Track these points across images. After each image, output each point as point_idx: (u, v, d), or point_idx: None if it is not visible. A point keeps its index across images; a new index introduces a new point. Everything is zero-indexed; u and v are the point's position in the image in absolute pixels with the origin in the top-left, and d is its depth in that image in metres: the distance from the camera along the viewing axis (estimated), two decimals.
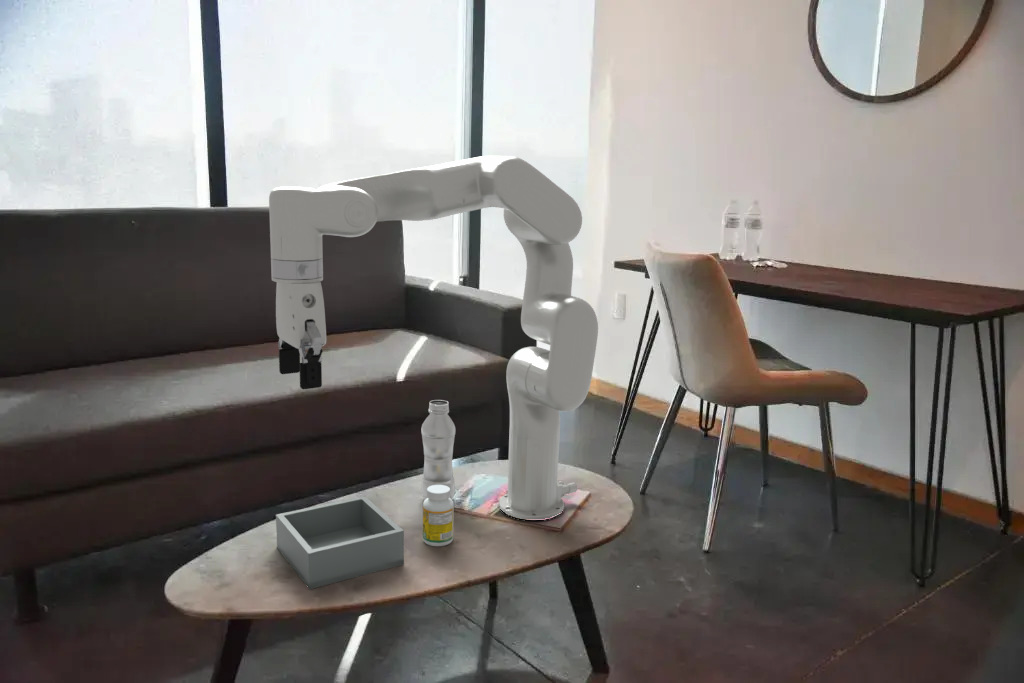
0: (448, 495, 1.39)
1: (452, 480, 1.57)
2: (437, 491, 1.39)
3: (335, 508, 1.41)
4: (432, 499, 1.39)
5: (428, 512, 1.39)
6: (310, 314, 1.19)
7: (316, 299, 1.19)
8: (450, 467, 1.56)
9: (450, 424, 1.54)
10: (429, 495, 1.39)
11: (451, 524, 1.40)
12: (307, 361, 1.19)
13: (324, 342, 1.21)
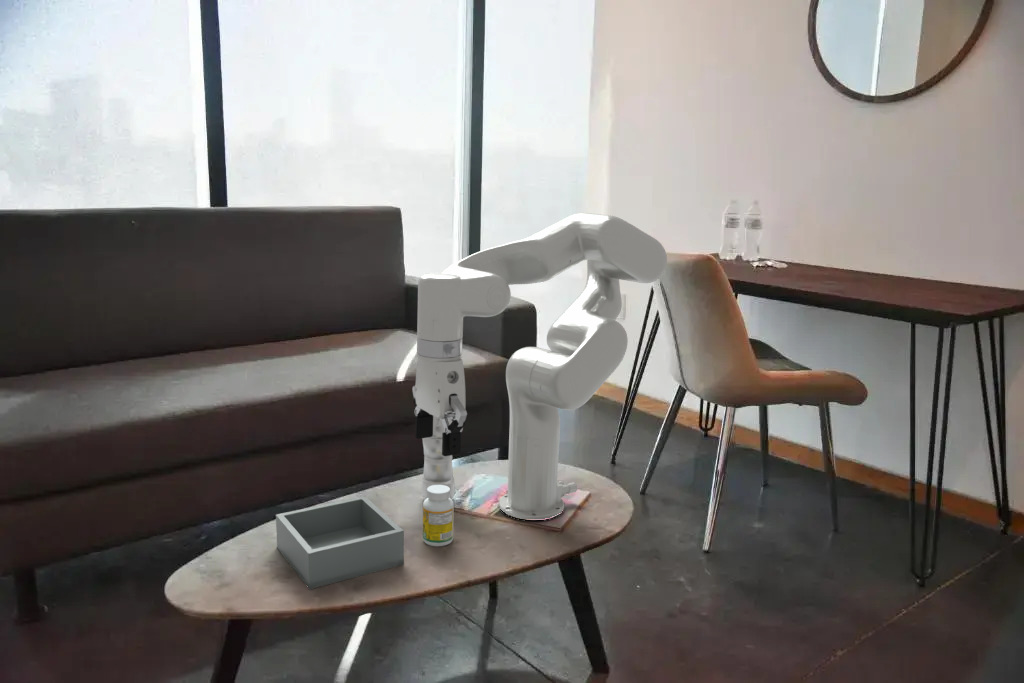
0: (448, 495, 1.39)
1: (452, 480, 1.57)
2: (437, 491, 1.39)
3: (335, 508, 1.41)
4: (432, 499, 1.39)
5: (428, 512, 1.39)
6: (454, 389, 1.32)
7: (459, 375, 1.32)
8: (450, 467, 1.56)
9: None
10: (429, 495, 1.39)
11: (451, 524, 1.40)
12: (450, 431, 1.32)
13: None
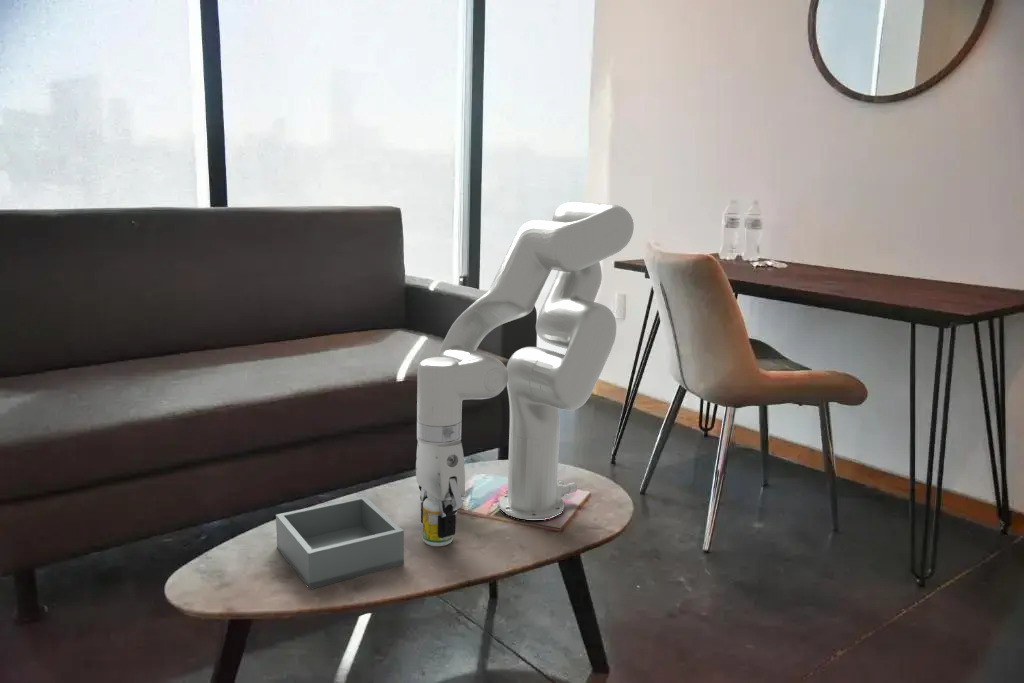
0: (448, 495, 1.39)
1: None
2: None
3: (335, 508, 1.41)
4: (432, 499, 1.39)
5: (428, 512, 1.39)
6: (453, 472, 1.35)
7: (458, 458, 1.35)
8: None
9: None
10: (429, 495, 1.39)
11: None
12: (445, 515, 1.37)
13: (463, 494, 1.37)
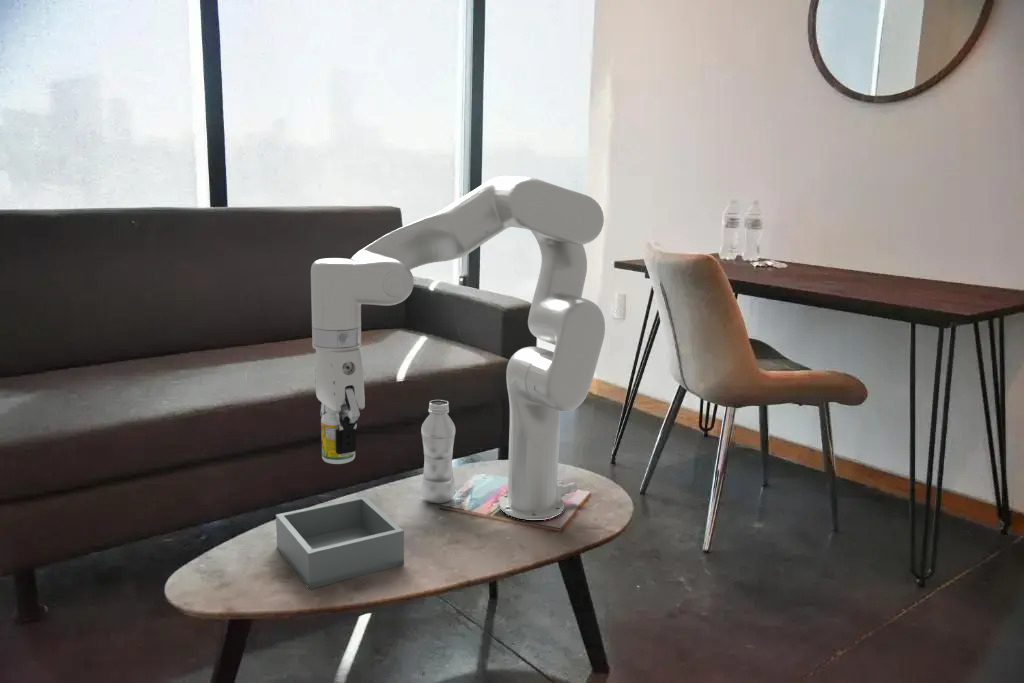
0: (347, 408, 1.29)
1: (452, 480, 1.57)
2: None
3: (335, 508, 1.41)
4: (329, 412, 1.28)
5: (325, 427, 1.28)
6: (350, 381, 1.25)
7: (356, 366, 1.25)
8: (450, 467, 1.56)
9: (450, 424, 1.54)
10: (327, 408, 1.29)
11: None
12: (343, 428, 1.26)
13: (363, 406, 1.27)
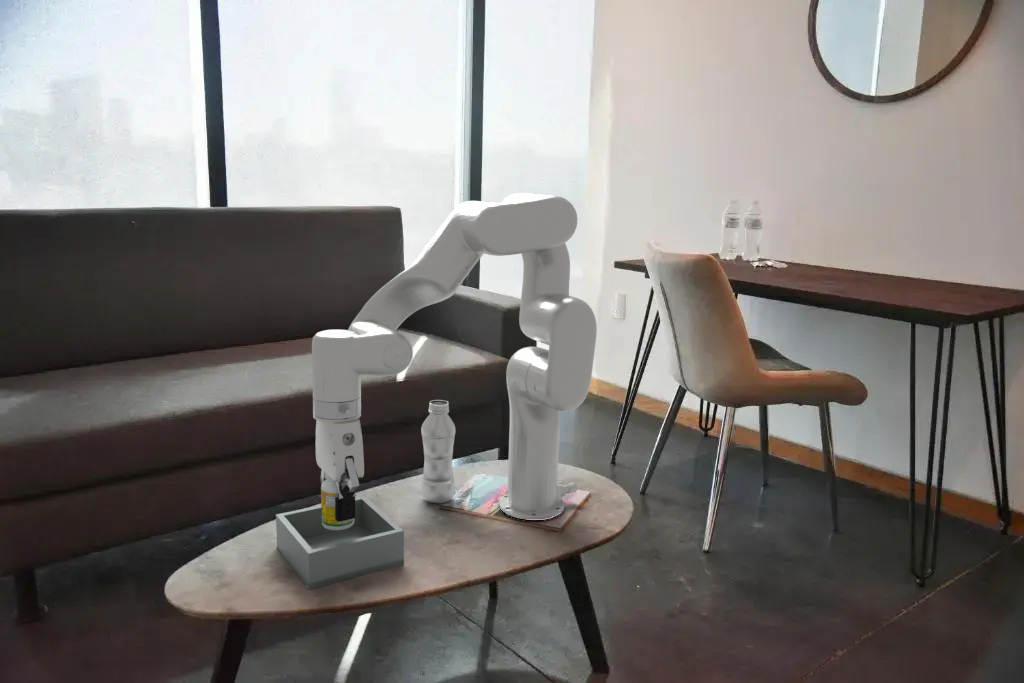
0: None
1: (452, 480, 1.57)
2: None
3: None
4: (329, 480, 1.31)
5: (325, 494, 1.31)
6: (350, 451, 1.27)
7: (355, 437, 1.27)
8: (450, 467, 1.56)
9: (450, 424, 1.54)
10: (326, 476, 1.31)
11: None
12: (342, 497, 1.29)
13: (362, 475, 1.29)
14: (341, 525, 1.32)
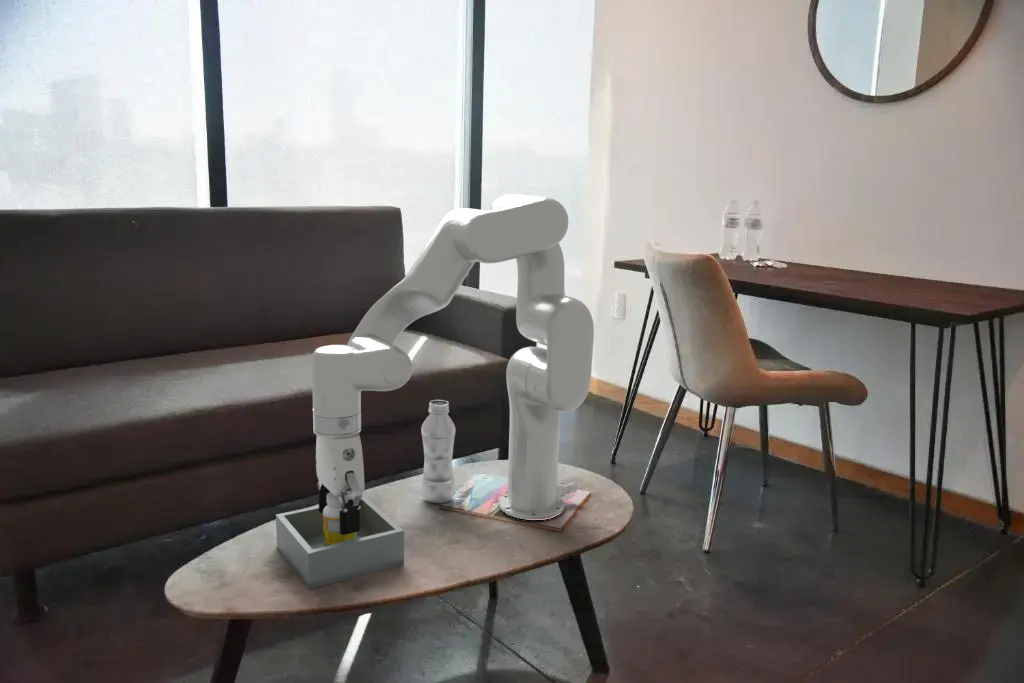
0: None
1: (452, 480, 1.57)
2: (337, 497, 1.33)
3: None
4: (331, 505, 1.32)
5: (328, 519, 1.32)
6: (350, 466, 1.28)
7: (355, 452, 1.28)
8: (450, 467, 1.56)
9: (450, 424, 1.54)
10: (328, 501, 1.32)
11: None
12: (347, 510, 1.28)
13: (362, 490, 1.30)
14: None
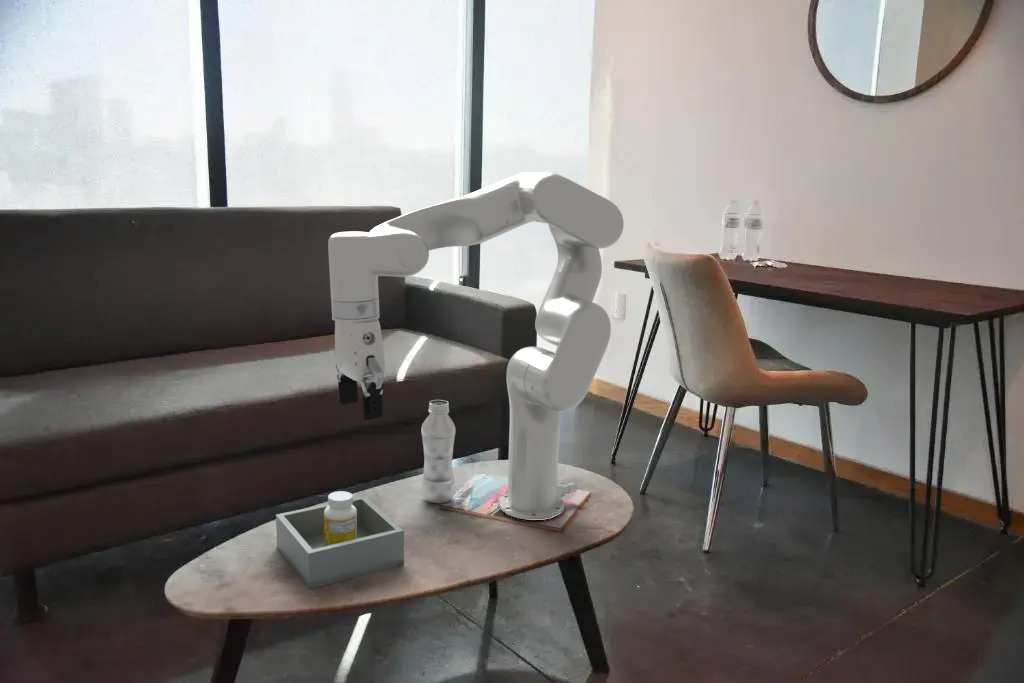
0: (350, 502, 1.33)
1: (452, 480, 1.57)
2: (339, 498, 1.32)
3: None
4: (333, 507, 1.32)
5: (329, 521, 1.32)
6: (370, 350, 1.28)
7: (375, 336, 1.28)
8: (450, 467, 1.56)
9: (450, 424, 1.54)
10: (330, 503, 1.32)
11: (354, 532, 1.34)
12: (369, 394, 1.28)
13: (383, 375, 1.30)
14: None
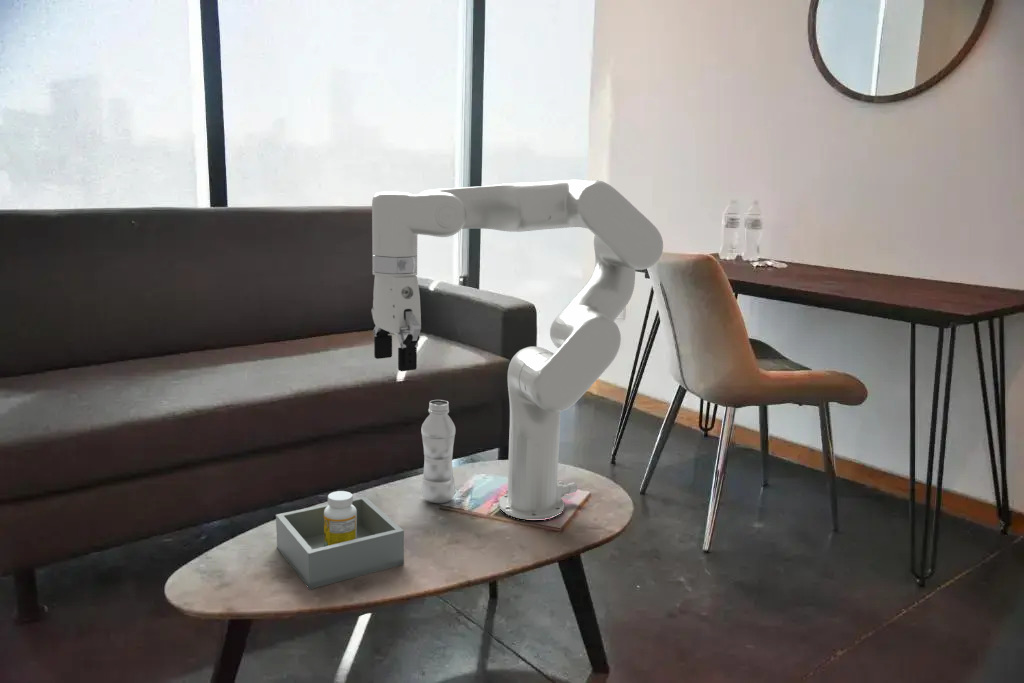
0: (350, 502, 1.33)
1: (452, 480, 1.57)
2: (338, 498, 1.32)
3: None
4: (333, 506, 1.32)
5: (329, 521, 1.32)
6: (408, 304, 1.34)
7: (413, 291, 1.35)
8: (450, 467, 1.56)
9: (450, 424, 1.54)
10: (330, 503, 1.32)
11: (354, 532, 1.34)
12: (406, 346, 1.34)
13: None
14: None
